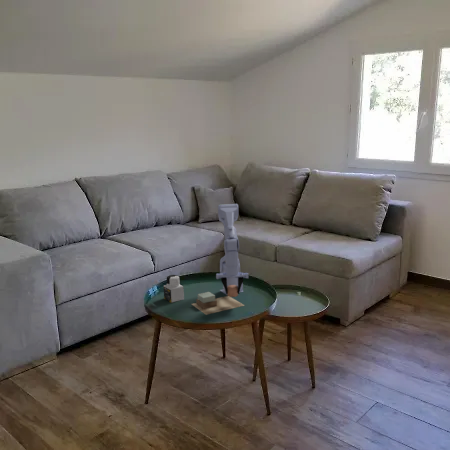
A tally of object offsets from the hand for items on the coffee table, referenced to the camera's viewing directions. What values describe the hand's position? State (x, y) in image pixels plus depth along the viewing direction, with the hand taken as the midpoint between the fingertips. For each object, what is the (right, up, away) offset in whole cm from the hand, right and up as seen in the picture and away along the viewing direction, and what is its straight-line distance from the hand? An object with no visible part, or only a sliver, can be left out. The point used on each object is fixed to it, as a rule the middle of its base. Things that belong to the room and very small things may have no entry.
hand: (232, 293), depth 223 cm
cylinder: (0, -1, 0) cm, 1 cm away
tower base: (-12, -6, +2) cm, 14 cm away
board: (-7, -6, +3) cm, 10 cm away
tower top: (-12, -3, +2) cm, 13 cm away
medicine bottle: (-28, -5, +12) cm, 31 cm away
